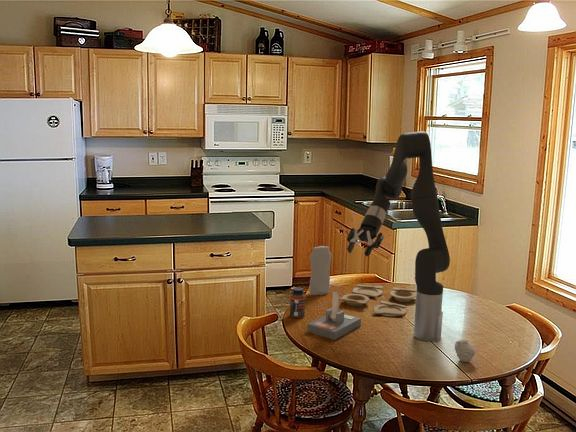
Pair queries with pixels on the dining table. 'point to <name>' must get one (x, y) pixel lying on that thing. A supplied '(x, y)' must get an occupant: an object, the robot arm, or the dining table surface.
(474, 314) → the dining table surface
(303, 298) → the supplement bottle
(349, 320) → the switch block
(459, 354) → the frog figurine
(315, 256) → the tall pale column
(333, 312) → the breaker lever
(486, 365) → the dining table surface
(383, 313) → the tableware set
